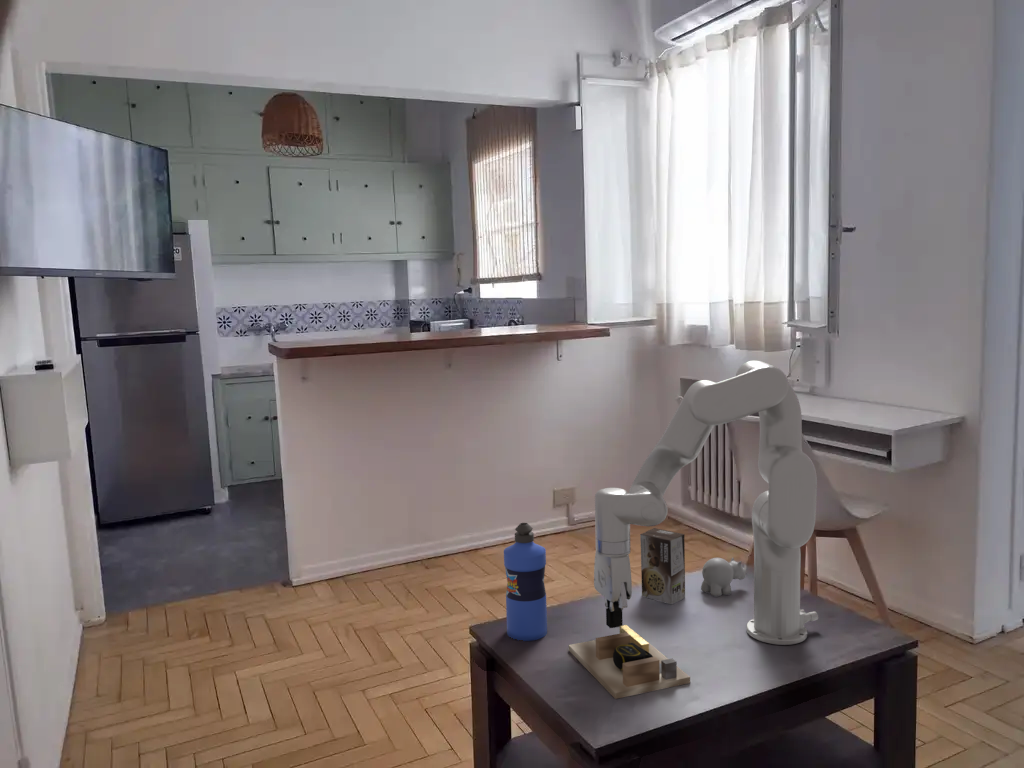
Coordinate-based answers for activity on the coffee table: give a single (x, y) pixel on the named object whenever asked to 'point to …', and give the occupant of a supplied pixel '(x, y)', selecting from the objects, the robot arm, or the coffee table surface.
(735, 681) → the coffee table surface
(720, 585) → the white animal figurine
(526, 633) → the water bottle
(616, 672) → the dock
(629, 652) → the tape measure
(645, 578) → the coffee box
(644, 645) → the yellow bar
